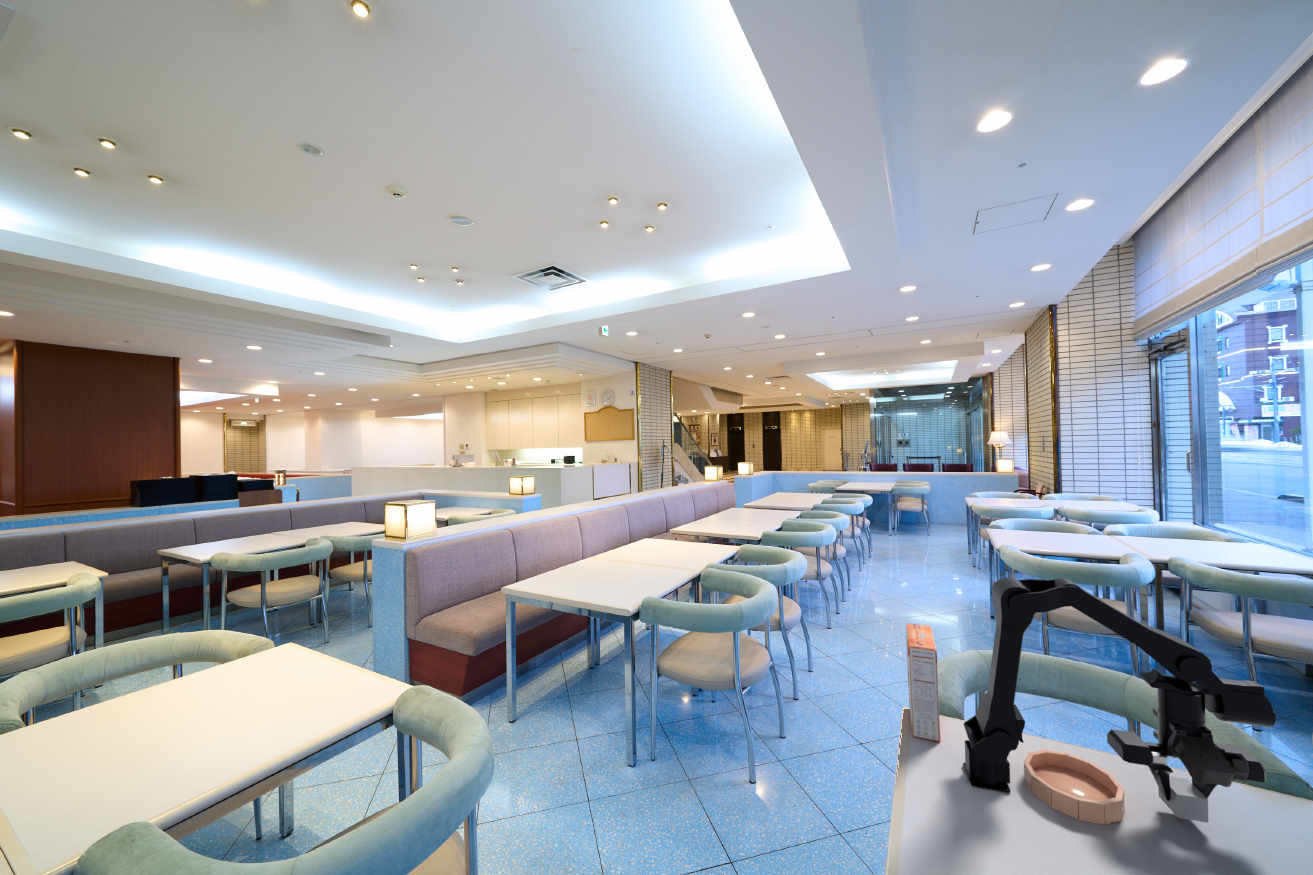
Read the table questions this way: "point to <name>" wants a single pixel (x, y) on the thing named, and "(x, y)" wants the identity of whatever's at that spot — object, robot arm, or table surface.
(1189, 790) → the grey rectangular prism
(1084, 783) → the bowl
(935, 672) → the cracker box
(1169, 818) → the table surface
